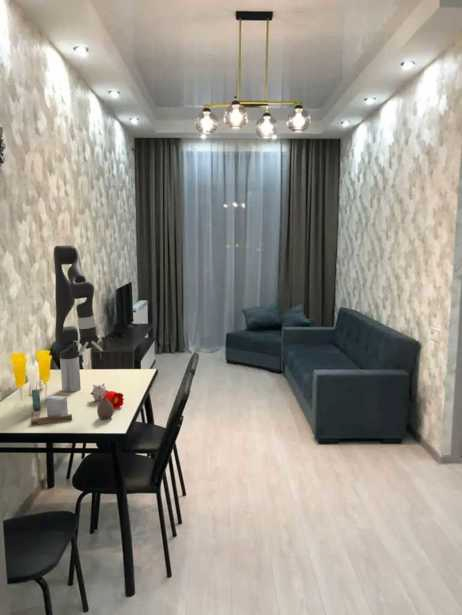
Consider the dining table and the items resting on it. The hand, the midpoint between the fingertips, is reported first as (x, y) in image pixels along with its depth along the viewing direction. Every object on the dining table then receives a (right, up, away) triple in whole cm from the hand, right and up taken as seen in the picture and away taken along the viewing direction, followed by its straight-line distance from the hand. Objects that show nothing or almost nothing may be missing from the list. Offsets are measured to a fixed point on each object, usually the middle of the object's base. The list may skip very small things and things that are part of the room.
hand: (92, 360), depth 229 cm
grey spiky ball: (0, -21, +14) cm, 25 cm away
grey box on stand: (-16, -24, -6) cm, 29 cm away
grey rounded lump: (+9, -24, -10) cm, 28 cm away
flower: (+8, -22, +4) cm, 24 cm away
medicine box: (-13, -24, -7) cm, 28 cm away
